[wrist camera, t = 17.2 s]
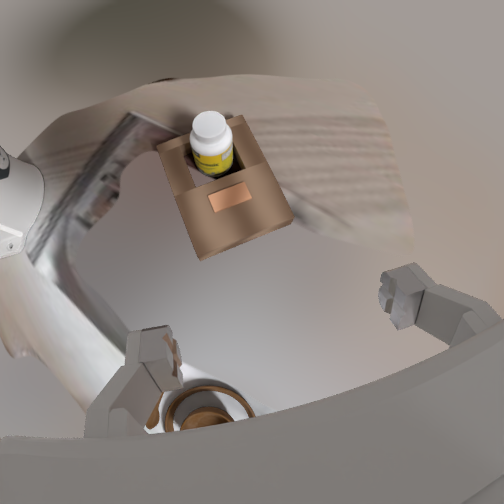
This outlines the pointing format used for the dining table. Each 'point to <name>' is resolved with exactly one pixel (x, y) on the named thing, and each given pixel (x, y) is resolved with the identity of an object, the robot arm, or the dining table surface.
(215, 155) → the supplement bottle
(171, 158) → the block
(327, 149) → the dining table surface
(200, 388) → the place setting
